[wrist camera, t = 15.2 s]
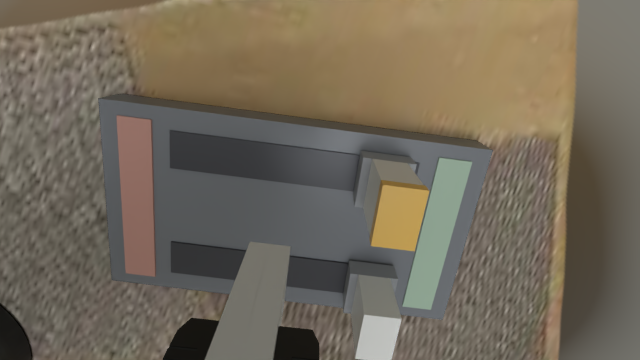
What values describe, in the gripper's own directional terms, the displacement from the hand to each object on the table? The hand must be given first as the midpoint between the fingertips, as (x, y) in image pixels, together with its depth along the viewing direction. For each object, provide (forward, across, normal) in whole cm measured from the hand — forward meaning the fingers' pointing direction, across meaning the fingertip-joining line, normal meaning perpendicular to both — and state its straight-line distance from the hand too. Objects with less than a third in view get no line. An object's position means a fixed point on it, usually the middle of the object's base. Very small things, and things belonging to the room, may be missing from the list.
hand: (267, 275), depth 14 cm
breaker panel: (+17, 0, -4) cm, 17 cm away
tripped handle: (+13, +6, 0) cm, 15 cm away
